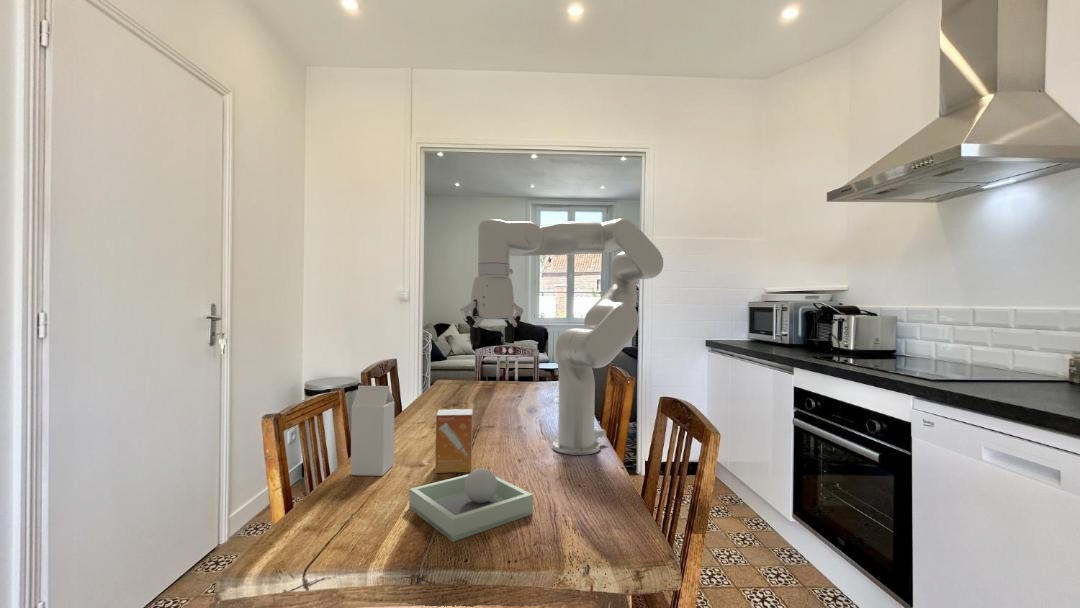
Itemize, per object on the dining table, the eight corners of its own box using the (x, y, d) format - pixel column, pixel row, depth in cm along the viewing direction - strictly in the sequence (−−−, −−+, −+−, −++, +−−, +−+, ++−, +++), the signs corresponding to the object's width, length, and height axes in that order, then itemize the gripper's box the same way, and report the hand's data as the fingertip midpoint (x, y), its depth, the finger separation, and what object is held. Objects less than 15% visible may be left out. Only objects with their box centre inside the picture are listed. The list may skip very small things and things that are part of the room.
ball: (472, 502, 88) (491, 474, 90) (490, 514, 83) (509, 484, 86) (452, 486, 85) (472, 458, 88) (469, 497, 80) (489, 466, 83)
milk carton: (382, 476, 101) (384, 388, 101) (350, 476, 101) (351, 388, 102) (393, 465, 108) (394, 383, 109) (363, 465, 108) (364, 383, 109)
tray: (483, 487, 95) (483, 470, 95) (532, 514, 83) (532, 494, 83) (409, 508, 85) (409, 488, 85) (452, 541, 73) (452, 519, 73)
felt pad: (479, 491, 91) (479, 490, 91) (508, 508, 83) (509, 506, 83) (432, 504, 85) (432, 503, 85) (459, 524, 77) (459, 522, 77)
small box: (434, 474, 103) (435, 414, 103) (437, 464, 109) (437, 409, 109) (471, 472, 104) (472, 414, 104) (472, 463, 110) (472, 408, 110)
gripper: (513, 275, 120) (512, 341, 120) (453, 271, 109) (453, 344, 109) (531, 273, 114) (531, 343, 114) (470, 268, 103) (469, 346, 103)
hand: (492, 343), depth 111 cm, fingers open, 9 cm apart
